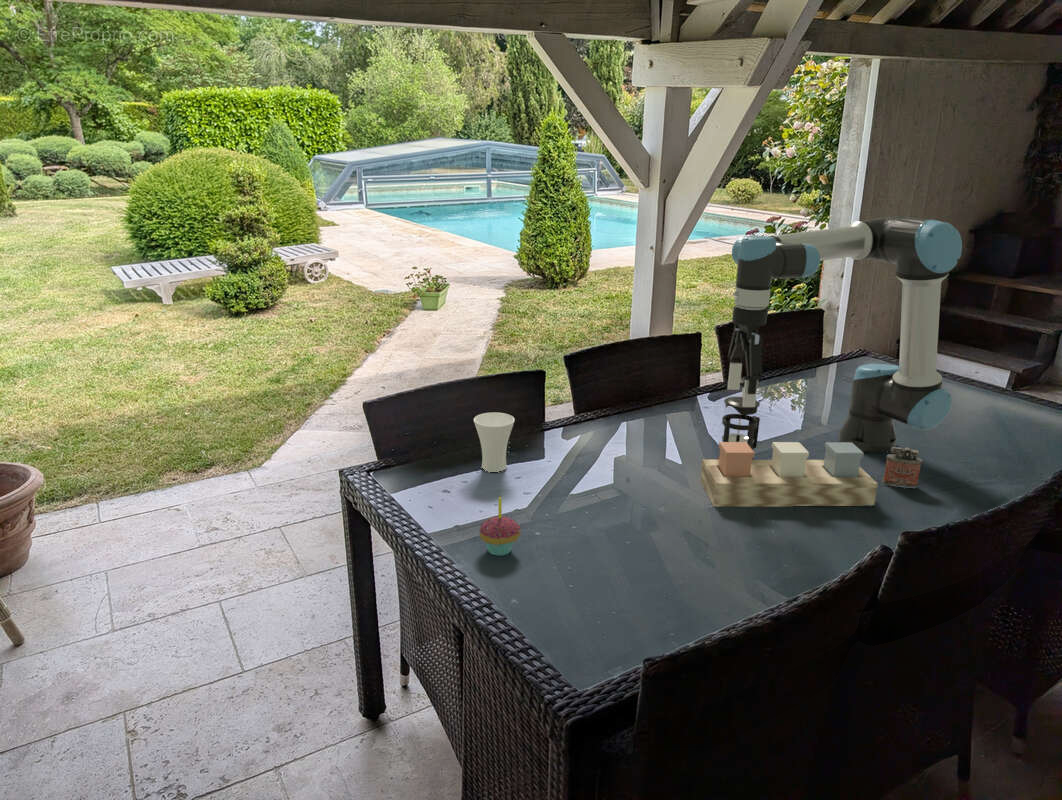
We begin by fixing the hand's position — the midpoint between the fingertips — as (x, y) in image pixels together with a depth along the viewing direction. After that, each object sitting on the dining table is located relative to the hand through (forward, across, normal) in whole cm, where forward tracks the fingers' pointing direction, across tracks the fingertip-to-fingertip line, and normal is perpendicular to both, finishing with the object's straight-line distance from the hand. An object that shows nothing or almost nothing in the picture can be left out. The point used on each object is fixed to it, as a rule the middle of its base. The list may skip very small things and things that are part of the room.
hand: (740, 397), depth 180 cm
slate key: (+19, 0, +26) cm, 32 cm away
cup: (+25, -14, -58) cm, 65 cm away
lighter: (+25, -5, +44) cm, 51 cm away
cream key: (+19, 0, +13) cm, 23 cm away
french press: (+25, -20, +7) cm, 32 cm away
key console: (+25, 0, +13) cm, 28 cm away
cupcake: (+25, +28, -56) cm, 67 cm away
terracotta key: (+19, 0, 0) cm, 19 cm away
